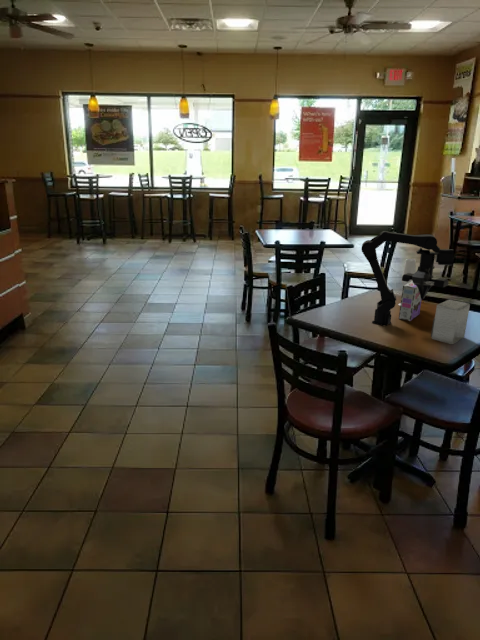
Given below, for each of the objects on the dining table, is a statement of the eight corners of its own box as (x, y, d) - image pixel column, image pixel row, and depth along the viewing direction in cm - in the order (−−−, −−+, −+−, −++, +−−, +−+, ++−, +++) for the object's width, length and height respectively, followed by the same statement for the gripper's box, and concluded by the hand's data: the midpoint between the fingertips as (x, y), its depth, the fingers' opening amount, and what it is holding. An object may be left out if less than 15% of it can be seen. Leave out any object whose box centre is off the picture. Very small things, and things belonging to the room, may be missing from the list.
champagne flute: (402, 302, 253) (408, 257, 246) (414, 305, 248) (420, 259, 241) (395, 304, 249) (401, 259, 242) (407, 307, 244) (413, 261, 237)
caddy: (431, 338, 202) (437, 304, 197) (444, 332, 210) (449, 299, 205) (452, 344, 196) (458, 309, 191) (464, 337, 204) (470, 303, 199)
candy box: (410, 321, 223) (415, 287, 218) (398, 319, 227) (402, 285, 221) (419, 314, 234) (424, 281, 228) (407, 312, 237) (412, 279, 232)
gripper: (397, 263, 208) (394, 298, 213) (440, 270, 195) (435, 306, 200) (409, 260, 215) (405, 294, 220) (451, 266, 203) (446, 301, 208)
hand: (422, 298), depth 212 cm, fingers closed
